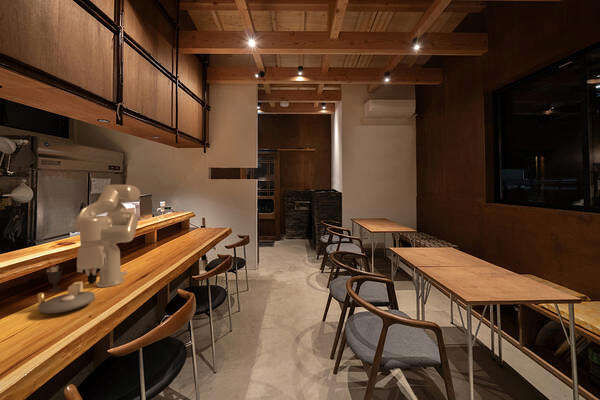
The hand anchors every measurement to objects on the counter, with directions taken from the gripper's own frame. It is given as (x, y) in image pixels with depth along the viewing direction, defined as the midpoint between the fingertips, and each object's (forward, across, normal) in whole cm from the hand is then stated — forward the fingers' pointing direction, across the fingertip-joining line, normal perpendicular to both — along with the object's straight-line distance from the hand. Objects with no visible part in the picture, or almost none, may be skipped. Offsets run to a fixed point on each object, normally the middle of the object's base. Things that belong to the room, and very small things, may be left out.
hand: (92, 283), depth 120 cm
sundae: (+7, +22, -21) cm, 31 cm away
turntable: (+6, +6, +5) cm, 10 cm away
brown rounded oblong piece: (+8, +10, +4) cm, 13 cm away
